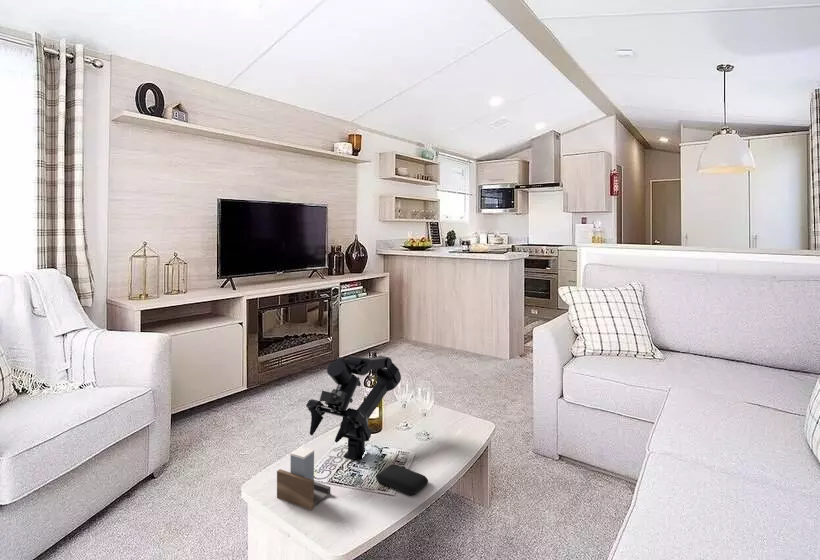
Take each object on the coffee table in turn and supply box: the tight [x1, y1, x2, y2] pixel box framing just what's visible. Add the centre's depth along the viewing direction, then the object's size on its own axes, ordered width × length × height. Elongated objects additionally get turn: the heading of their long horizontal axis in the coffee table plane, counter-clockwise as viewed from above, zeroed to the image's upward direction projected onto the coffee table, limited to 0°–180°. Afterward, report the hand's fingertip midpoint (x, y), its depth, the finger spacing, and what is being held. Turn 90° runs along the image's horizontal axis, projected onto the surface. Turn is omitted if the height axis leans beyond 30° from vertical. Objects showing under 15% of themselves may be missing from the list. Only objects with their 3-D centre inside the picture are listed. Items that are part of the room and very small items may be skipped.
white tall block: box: [290, 446, 315, 481], centre depth 129 cm, size 5×5×13 cm
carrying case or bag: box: [375, 463, 429, 496], centre depth 139 cm, size 11×3×15 cm
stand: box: [276, 468, 331, 511], centre depth 130 cm, size 9×12×8 cm
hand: (323, 438), depth 136 cm, fingers open, 9 cm apart
